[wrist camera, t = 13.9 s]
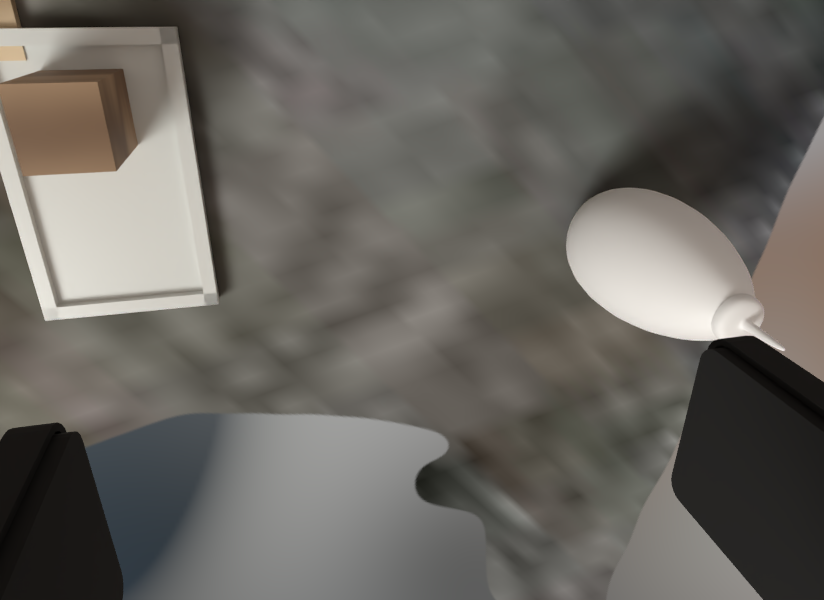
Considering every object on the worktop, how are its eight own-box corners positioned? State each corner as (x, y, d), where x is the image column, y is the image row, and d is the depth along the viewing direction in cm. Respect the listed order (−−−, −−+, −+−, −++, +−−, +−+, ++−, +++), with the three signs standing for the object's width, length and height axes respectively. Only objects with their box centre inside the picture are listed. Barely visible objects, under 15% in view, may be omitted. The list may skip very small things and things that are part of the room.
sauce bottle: (522, 256, 43) (675, 402, 27) (575, 152, 41) (777, 247, 25) (608, 286, 46) (791, 434, 30) (662, 191, 43) (893, 299, 28)
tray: (-34, 28, 30) (-43, 28, 29) (177, 26, 32) (175, 27, 31) (50, 313, 37) (45, 320, 37) (219, 297, 39) (218, 304, 39)
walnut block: (40, 70, 31) (-4, 84, 26) (123, 68, 32) (97, 82, 27) (59, 148, 33) (22, 176, 28) (137, 145, 34) (116, 171, 29)
